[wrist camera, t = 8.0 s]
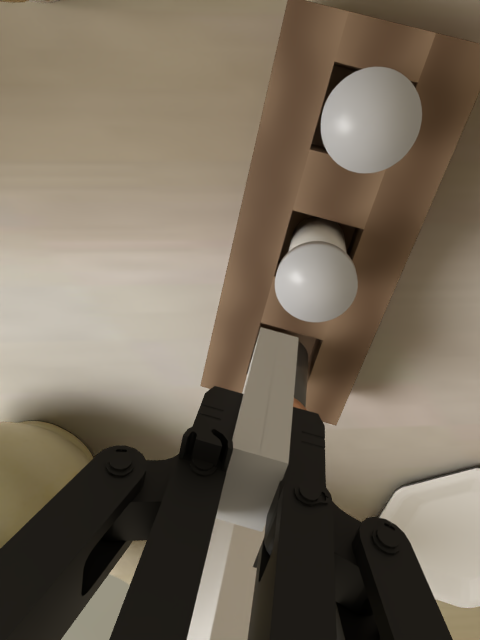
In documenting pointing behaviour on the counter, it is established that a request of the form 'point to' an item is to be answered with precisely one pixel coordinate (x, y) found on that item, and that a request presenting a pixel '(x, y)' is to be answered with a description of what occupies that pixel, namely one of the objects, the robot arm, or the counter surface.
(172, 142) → the counter surface
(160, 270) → the counter surface
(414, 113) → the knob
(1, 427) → the pitcher
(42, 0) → the coffee cup
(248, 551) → the milk
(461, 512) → the plate
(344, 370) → the mount
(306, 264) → the knob mid
